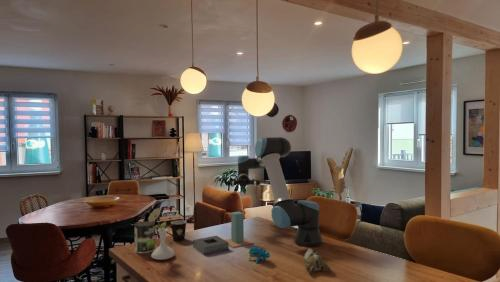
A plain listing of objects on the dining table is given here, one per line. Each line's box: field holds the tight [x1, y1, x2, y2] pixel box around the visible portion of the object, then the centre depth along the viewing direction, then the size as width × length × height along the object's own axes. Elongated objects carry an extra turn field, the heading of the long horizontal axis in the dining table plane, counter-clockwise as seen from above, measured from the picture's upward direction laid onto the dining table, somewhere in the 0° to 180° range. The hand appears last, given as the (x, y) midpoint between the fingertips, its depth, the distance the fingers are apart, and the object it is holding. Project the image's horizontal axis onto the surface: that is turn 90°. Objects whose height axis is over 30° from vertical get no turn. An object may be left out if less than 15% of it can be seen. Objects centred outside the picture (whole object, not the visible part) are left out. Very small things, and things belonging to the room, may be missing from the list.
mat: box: [224, 237, 254, 249], centre depth 185 cm, size 13×13×1 cm
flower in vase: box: [147, 207, 176, 261], centre depth 162 cm, size 13×11×25 cm
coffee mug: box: [164, 219, 187, 242], centre depth 191 cm, size 12×9×10 cm
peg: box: [230, 211, 245, 243], centre depth 185 cm, size 5×5×16 cm
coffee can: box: [133, 220, 156, 254], centre depth 173 cm, size 10×10×14 cm
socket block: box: [192, 235, 230, 256], centre depth 175 cm, size 14×14×4 cm
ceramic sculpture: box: [303, 247, 332, 274], centre depth 147 cm, size 11×9×15 cm
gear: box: [248, 246, 271, 264], centre depth 157 cm, size 11×6×10 cm
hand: (244, 184), depth 200 cm, fingers open, 13 cm apart
